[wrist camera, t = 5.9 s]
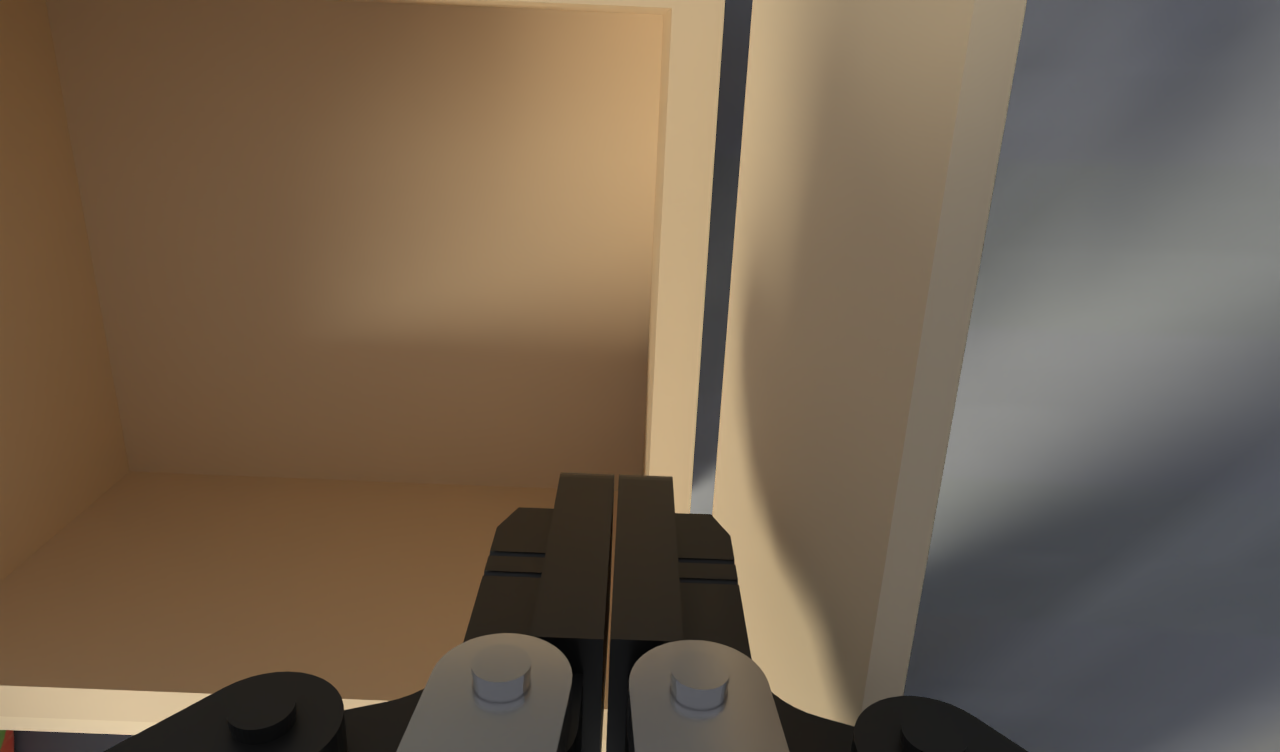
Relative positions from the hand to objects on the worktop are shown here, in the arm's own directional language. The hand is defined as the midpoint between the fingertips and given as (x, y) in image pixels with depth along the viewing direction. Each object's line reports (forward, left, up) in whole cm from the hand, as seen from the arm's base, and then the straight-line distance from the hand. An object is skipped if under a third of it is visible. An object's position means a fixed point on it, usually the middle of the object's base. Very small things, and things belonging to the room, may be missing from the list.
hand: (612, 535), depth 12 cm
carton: (+7, 0, -14) cm, 16 cm away
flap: (-2, 0, 0) cm, 2 cm away
